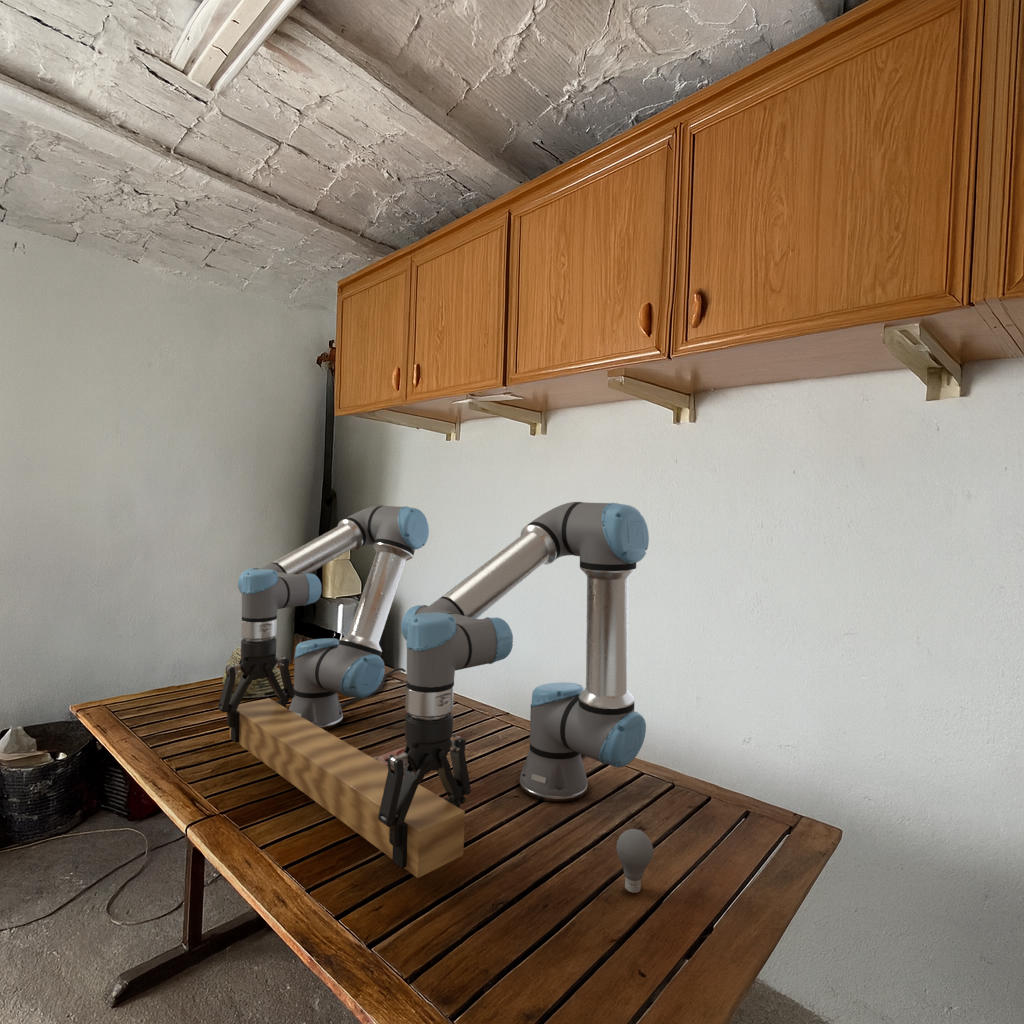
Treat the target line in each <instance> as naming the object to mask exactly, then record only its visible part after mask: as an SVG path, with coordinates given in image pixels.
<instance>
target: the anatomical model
mask: <svg viewBox="0 0 1024 1024" xmlns="http://www.w3.org/2000/svg"><path fill="white" fill-rule="evenodd" d="M405 747H406V746H404V747H401V748H400V747H399V748H398V749H394V750H391V751H389V752H387V753H383V754H381V755H377V756H372V758H374V759H375V760H377V761H379V762H380V763H382V764H384V765H386V766H387V767H388V757H389V756H390V755H394V756H398V755H400V754H402V753H404V750H405ZM407 763H408V762H406V764H405V766H406V765H407Z"/></svg>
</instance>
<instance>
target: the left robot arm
mask: <svg viewBox="0 0 1024 1024" xmlns="http://www.w3.org/2000/svg"><path fill="white" fill-rule="evenodd" d="M429 534H430V527H429V523H428V519H427V517H426V515H425V513H423V511H421V510H420V509H418V508H416V507H410V506H392V505H372V506H370V507H366V508H363V509H361V510H359V511H357V512H355V513H353V514H350V515H349V516H347V517H345V518H343V519H341V520H340V521H339V522H338V524H337V526H336V527H334V528H332V529H331V530H329V531H327V532H325V533H323V534H321V535H319V536H318V537H316V538H314V539H313V540H311V541H309V542H307V543H305V544H303V545H301V546H300V547H298V548H296V549H294V550H292V551H290V552H289V553H287V554H285V555H283V556H282V557H279V558H277V559H276V560H274V561H272V562H270V563H268V564H266V565H265V566H262V567H261V568H258V567H254V568H252V567H251V568H247V569H245V570H244V571H242V573H241V574H240V575H239V576H238V580H237V587H238V588H237V589H238V590H239V592H240V594H241V621H240V622H241V625H240V626H241V627H240V637H241V638H242V639H241V640H240V647H241V660H240V662H239V664H237V665H233V666H230V665H227V664H226V665H227V666H225V668H226V679H225V683H224V685H223V687H222V690H221V694H220V699H219V702H218V706H217V708H218V710H219V711H221V712H222V713H224V714H225V713H226V725H227V727H228V728H229V729H230V728H231V738H230V740H231V741H233V742H234V743H235V744H236V743H237V742H239V712H237V711H236V710H237V708H238V706H239V704H241V702H242V701H243V699H244V698H243V696H244V694H245V692H246V690H247V688H248V686H249V685H250V684H251V682H252V680H257V679H259V678H267V680H268V682H269V683H270V685H271V687H272V689H273V691H274V692H275V694H276V695H275V697H276V698H277V700H274V701H275V702H277V703H278V704H280V705H282V706H284V707H285V708H287V704H288V703H289V700H291V702H290V704H289V708H288V709H289V710H290V711H292V712H294V713H296V714H297V715H299V716H301V717H303V718H304V719H306V720H308V721H309V722H311V723H313V724H315V725H316V726H318V727H320V728H322V729H323V730H325V731H329V730H332V729H335V728H337V727H339V726H340V725H342V723H343V722H344V713H343V709H342V707H345V706H347V705H350V704H352V703H354V702H356V701H359V700H362V699H365V698H368V697H372V696H374V695H376V694H377V693H379V692H380V691H381V690H382V689H383V687H384V685H385V681H386V679H387V678H386V677H388V676H389V675H391V674H393V673H395V672H397V671H402V672H403V673H407V670H406V669H405V668H402V667H397V668H395V669H393V670H390V671H389V672H387V673H385V671H386V669H385V668H386V667H385V662H384V660H383V658H382V657H381V656H382V653H383V650H382V647H381V646H380V641H381V638H382V635H383V632H384V630H385V626H386V623H387V620H388V617H389V614H390V611H391V608H392V604H393V602H394V598H395V595H396V593H397V589H398V586H399V583H400V580H401V577H402V574H403V572H404V568H405V564H406V563H407V562H408V561H410V560H412V559H413V558H414V555H415V552H416V550H419V549H421V548H423V547H424V546H425V545H426V544H427V542H428V540H429ZM370 545H373V548H374V550H375V556H374V559H373V562H372V565H371V567H370V570H369V574H368V576H367V578H366V582H365V585H364V587H363V591H362V594H361V597H360V599H359V602H358V605H357V608H356V610H355V614H354V617H353V618H352V619H353V620H352V623H351V625H350V628H349V631H348V633H347V634H346V635H345V636H344V637H341V638H340V640H339V639H338V638H335V637H334V638H331V637H329V638H315V639H308V640H304V641H301V642H299V643H298V644H297V645H296V646H295V652H294V653H295V654H294V656H293V659H294V661H293V662H294V663H293V664H294V668H293V680H292V677H291V673H290V669H289V668H290V659H289V658H288V657H286V656H280V657H277V638H276V636H277V629H278V627H277V626H278V610H281V609H286V608H293V607H300V606H303V607H305V606H307V605H311V604H314V603H316V602H318V600H319V599H320V597H321V595H322V582H321V579H320V578H319V577H318V576H317V575H316V574H315V573H313V572H315V571H317V570H318V569H320V568H322V567H323V566H325V565H327V564H329V563H330V562H332V561H333V560H335V559H337V558H339V557H340V556H342V555H344V554H345V553H347V552H349V551H350V550H353V551H356V550H359V549H361V548H363V547H365V546H370ZM275 666H276V667H277V666H278V667H279V668H278V669H279V670H280V673H281V677H282V682H283V686H284V690H285V691H284V692H283V690H282V688H281V687H280V685H279V683H278V681H277V679H276V676H275V674H274V673H273V671H272V670H273V669H274V667H275ZM239 670H241V671H242V672H243V674H242V676H241V678H240V682H239V684H238V686H237V688H236V690H235V692H234V694H233V696H232V698H231V695H232V691H233V687H234V683H235V679H236V675H237V674H238V671H239ZM292 681H293V682H292ZM338 694H339V695H343V696H344V697H348V698H353V699H350V700H348V701H346V702H344V703H341V702H340V699H339V695H338Z"/></svg>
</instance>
